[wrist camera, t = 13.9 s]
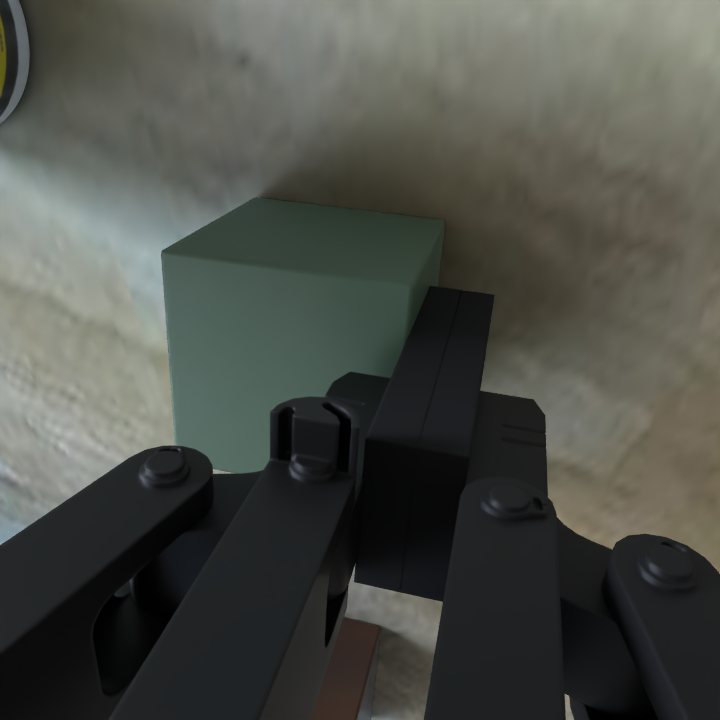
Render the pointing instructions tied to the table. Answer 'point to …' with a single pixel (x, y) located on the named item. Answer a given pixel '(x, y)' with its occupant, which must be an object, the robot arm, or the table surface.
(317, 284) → the sage block
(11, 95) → the supplement bottle
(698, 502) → the table surface
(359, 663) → the walnut block
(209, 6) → the table surface
